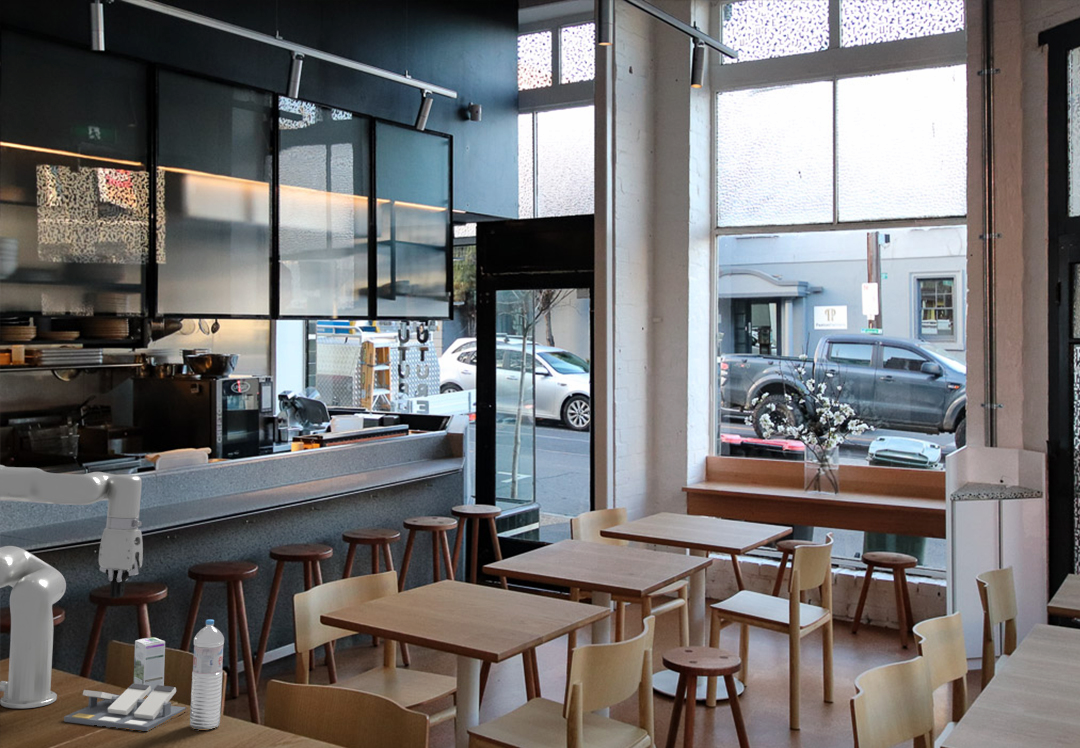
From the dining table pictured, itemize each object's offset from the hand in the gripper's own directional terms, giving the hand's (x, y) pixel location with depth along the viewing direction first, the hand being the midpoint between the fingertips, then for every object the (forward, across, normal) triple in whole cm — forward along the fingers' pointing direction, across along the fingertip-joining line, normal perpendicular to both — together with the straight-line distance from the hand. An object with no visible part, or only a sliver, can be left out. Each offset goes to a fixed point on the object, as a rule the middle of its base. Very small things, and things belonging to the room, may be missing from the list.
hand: (116, 596), depth 260 cm
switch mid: (+22, -12, +7) cm, 26 cm away
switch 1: (+22, -5, +8) cm, 24 cm away
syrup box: (+26, -6, -7) cm, 28 cm away
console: (+26, -12, +8) cm, 30 cm away
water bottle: (+26, -33, +7) cm, 42 cm away
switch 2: (+22, -19, +7) cm, 30 cm away
